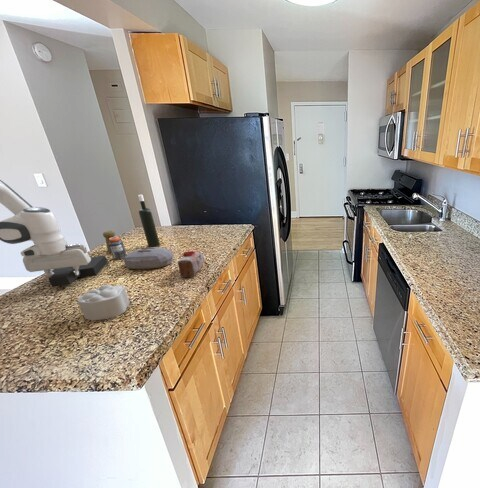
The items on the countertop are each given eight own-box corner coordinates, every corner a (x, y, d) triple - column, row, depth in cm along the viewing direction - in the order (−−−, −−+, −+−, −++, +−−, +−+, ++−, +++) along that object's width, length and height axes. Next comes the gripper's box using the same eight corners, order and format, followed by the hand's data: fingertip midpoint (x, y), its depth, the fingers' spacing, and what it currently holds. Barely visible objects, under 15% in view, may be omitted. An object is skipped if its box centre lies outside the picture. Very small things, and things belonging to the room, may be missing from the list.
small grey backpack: (122, 272, 122) (166, 270, 124) (116, 256, 119) (162, 254, 121) (140, 258, 136) (180, 256, 138) (136, 243, 133) (176, 242, 134)
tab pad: (51, 287, 106) (47, 278, 105) (68, 272, 118) (64, 265, 116) (70, 284, 108) (66, 276, 107) (84, 270, 119) (81, 262, 118)
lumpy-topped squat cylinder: (122, 315, 92) (114, 295, 89) (77, 323, 88) (67, 302, 85) (132, 299, 101) (125, 280, 98) (92, 306, 97) (84, 286, 94)
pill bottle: (118, 255, 140) (111, 235, 135) (129, 254, 140) (123, 235, 136) (110, 260, 134) (103, 240, 130) (123, 259, 135) (116, 239, 130)
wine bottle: (153, 247, 149) (139, 196, 138) (146, 246, 151) (131, 195, 140) (162, 244, 154) (148, 194, 143) (155, 243, 156) (141, 193, 145)
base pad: (52, 281, 114) (48, 273, 113) (68, 267, 126) (65, 260, 125) (96, 275, 119) (93, 267, 118) (107, 262, 132) (105, 255, 130)
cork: (119, 246, 151) (114, 228, 147) (121, 249, 147) (115, 231, 143) (106, 249, 147) (100, 231, 143) (108, 252, 143) (101, 234, 139)
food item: (189, 264, 129) (185, 246, 125) (206, 263, 130) (202, 245, 126) (179, 278, 116) (174, 258, 113) (197, 277, 118) (193, 257, 114)
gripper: (87, 240, 112) (98, 269, 117) (25, 247, 105) (39, 277, 110) (80, 246, 106) (92, 275, 111) (14, 253, 100) (30, 284, 105)
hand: (65, 276), depth 111 cm, fingers closed on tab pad, 6 cm apart
